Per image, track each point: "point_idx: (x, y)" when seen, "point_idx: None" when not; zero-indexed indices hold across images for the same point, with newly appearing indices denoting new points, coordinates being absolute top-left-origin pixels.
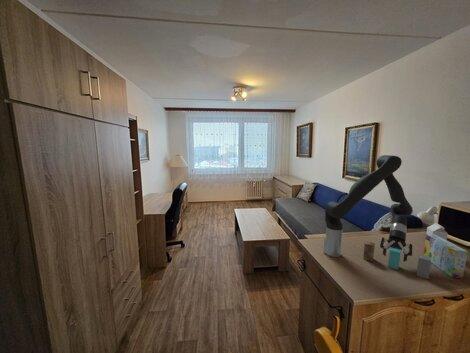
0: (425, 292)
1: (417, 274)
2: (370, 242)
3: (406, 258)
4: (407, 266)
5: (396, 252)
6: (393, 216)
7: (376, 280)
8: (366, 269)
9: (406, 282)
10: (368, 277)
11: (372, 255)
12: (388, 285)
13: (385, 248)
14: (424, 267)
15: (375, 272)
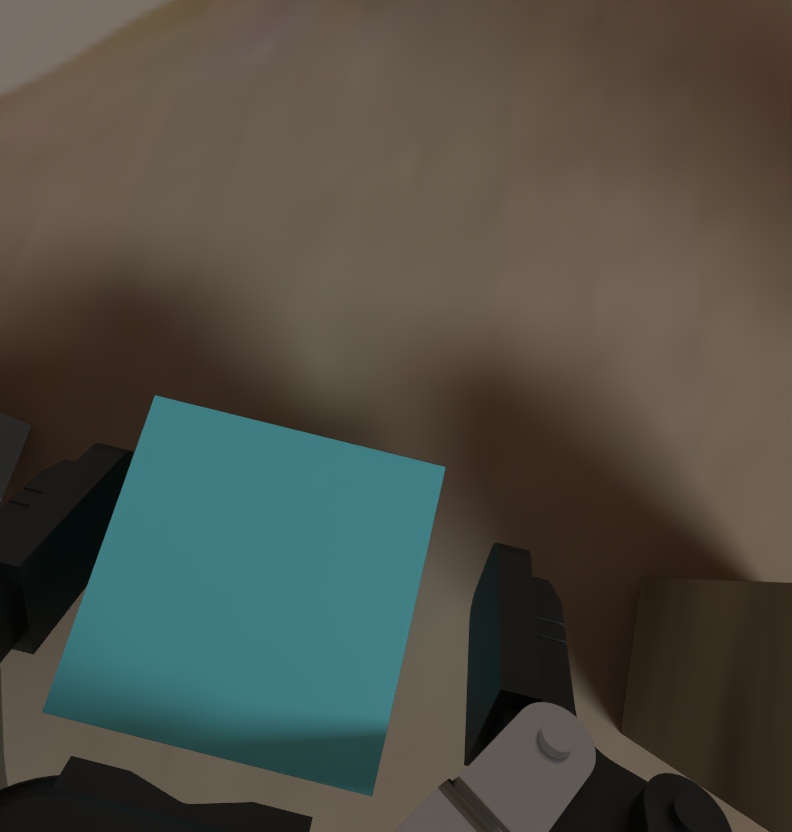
0: (98, 44)
1: (10, 417)
2: None
3: (37, 488)
4: (60, 718)
5: (259, 427)
6: None
7: (594, 52)
8: (713, 260)
9: (249, 162)
10: (681, 75)
11: (715, 582)
12: (475, 10)
13: (531, 702)
14: None
15: (599, 234)
